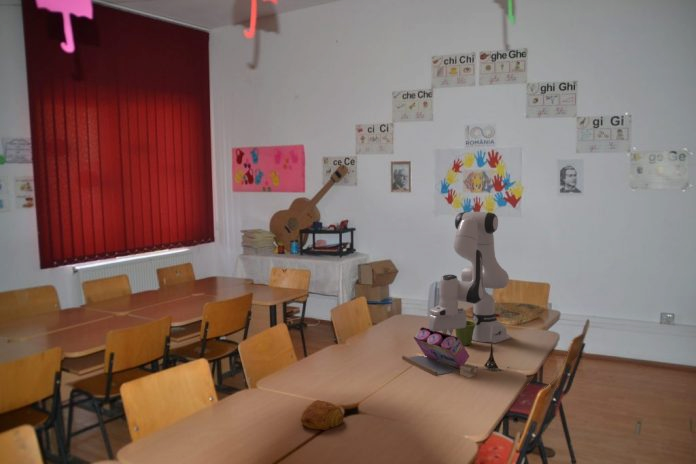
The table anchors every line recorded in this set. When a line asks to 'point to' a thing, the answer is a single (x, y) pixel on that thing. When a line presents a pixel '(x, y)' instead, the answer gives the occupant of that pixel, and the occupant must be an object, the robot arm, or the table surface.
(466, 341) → the plant pot
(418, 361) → the podium
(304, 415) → the croissant
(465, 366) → the beech block
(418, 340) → the gum box
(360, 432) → the table surface
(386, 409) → the table surface
